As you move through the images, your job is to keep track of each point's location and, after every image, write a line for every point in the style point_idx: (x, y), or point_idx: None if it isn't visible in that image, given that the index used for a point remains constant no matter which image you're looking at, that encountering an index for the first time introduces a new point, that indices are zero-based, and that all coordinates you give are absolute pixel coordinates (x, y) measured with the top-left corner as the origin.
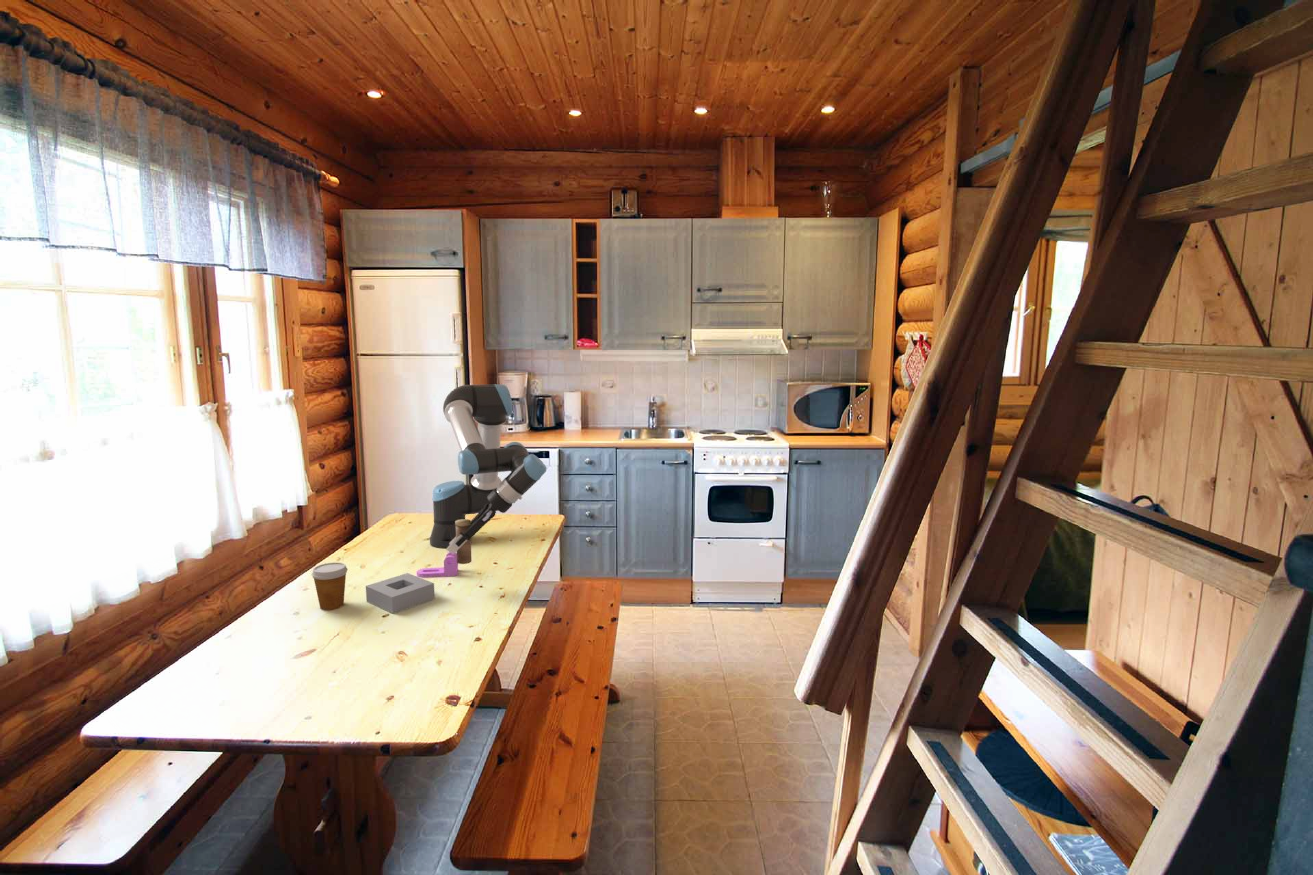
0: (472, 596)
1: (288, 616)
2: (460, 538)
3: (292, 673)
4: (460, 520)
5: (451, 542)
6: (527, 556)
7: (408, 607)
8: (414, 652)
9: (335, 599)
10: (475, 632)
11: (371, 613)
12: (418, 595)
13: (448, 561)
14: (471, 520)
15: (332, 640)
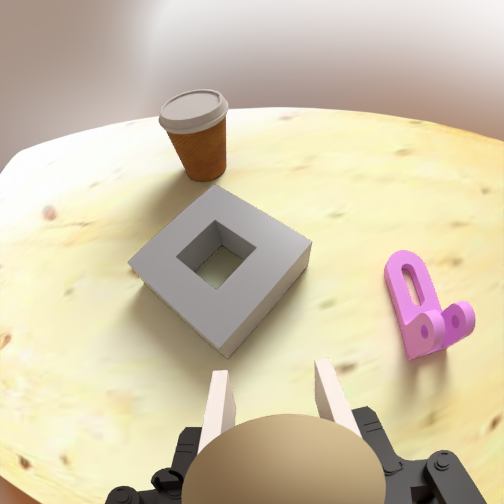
0: None
1: None
2: (184, 465)
3: (15, 225)
4: (324, 467)
5: (318, 373)
6: None
7: (169, 307)
8: (3, 359)
9: (183, 164)
10: (43, 464)
11: None
12: (183, 318)
13: (447, 317)
14: (462, 487)
15: (69, 226)
